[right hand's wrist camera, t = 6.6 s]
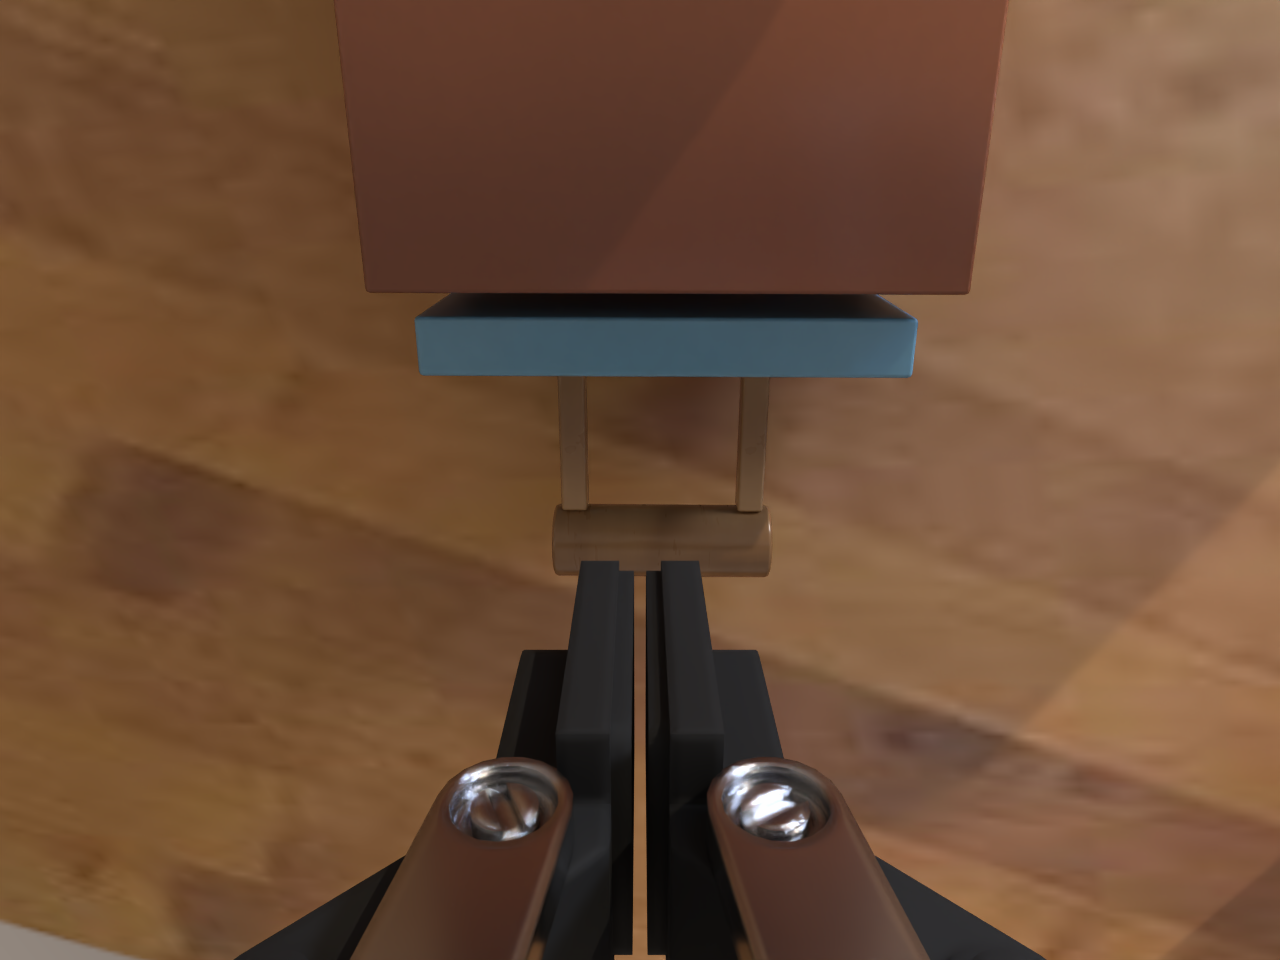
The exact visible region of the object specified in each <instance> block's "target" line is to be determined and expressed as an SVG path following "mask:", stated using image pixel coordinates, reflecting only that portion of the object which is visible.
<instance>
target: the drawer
mask: <svg viewBox="0 0 1280 960" xmlns="http://www.w3.org/2000/svg"><path fill="white" fill-rule="evenodd" d="M917 327H918V321H917V319H916V318H914V317H913V316H911V315H909V314H908V313H906V312H905V311H903V310H901V309H900V308H898V307H897V306H895V305H893V304H892V303H890V302H889V301H887V300H885V299H884V298H882V297H881V296H879V295H878V294H599V293H451V294H449V295H448V296H446V297H445V298H443V299H442V300H440V301H439V302H438V303H436V304H435V305H433V306H432V307H430V308H429V309H427V310H426V311H424V312H423V313H421V314H420V315H418V316H417V317H416V318H415V332H416V343H417V354H418V365H419V372H420V374H421V375H424V376H558V403H559V433H560V463H561V492H562V504H558V505H557V506H556V508H555V511H554V517H553V530H552V557H553V567H554V571H555V573H556V574H557V575H576V576H579V571H580V564H581V561H619V571H634V576H646V571H661V561H699V564H700V571H701V577H766V576H768V574H769V571H770V568H771V560H772V523H771V516H770V511H769V509H768V507H767V506H765V505H763V493H764V475H765V457H766V438H767V420H768V402H769V384H770V377H826V378H908V377H911V375H912V371H913V362H914V353H915V344H916V336H917ZM586 376H618V377H741V379H740V403H739V426H738V449H737V473H736V496H735V502H736V505H656V504H588V502H589V481H588V435H587V389H586Z"/></svg>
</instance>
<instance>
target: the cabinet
mask: <svg viewBox="0 0 1280 960" xmlns="http://www.w3.org/2000/svg"><path fill="white" fill-rule="evenodd" d="M1008 3H1009V0H334V6H335V16H336V25H337V34H338V43H339V52H340V61H341V70H342V79H343V88H344V97H345V107H346V116H347V125H348V134H349V143H350V152H351V161H352V170H353V179H354V188H355V197H356V207H357V216H358V225H359V234H360V243H361V252H362V261H363V270H364V279H365V288H366V290H367V292H370V293H599V294H898V295H965V294H968V293H969V291H970V286H971V279H972V271H973V264H974V256H975V249H976V241H977V234H978V227H979V219H980V212H981V204H982V197H983V189H984V182H985V174H986V167H987V159H988V152H989V145H990V137H991V130H992V122H993V115H994V107H995V100H996V92H997V85H998V77H999V70H1000V62H1001V55H1002V48H1003V40H1004V33H1005V25H1006V18H1007V10H1008Z"/></svg>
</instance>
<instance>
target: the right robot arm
mask: <svg viewBox="0 0 1280 960" xmlns="http://www.w3.org/2000/svg"><path fill="white" fill-rule="evenodd" d="M633 841H634V571H619V561H581V564H580V571H579V578H578V585H577V592H576V598H575V605H574V612H573V619H572V626H571V632H570V639H569V646H568V650H524V651H522V654H521V657H520V662H519V666H518V670H517V674H516V678H515V682H514V687H513V691H512V695H511V699H510V703H509V707H508V712H507V716H506V720H505V724H504V728H503V732H502V737H501V741H500V745H499V749H498V753H497V757H496V759H492V760H487V761H483V762H480V763H478V764H476V765H473V766H471V767H469V768H466V769H464V770H463V771H461V772H460V773H459V774H457V775H456V776H455V777H453V778H452V779H450V780H449V781H448V782H447V784H446V785H445V786H444V788H443V789H442V790H441V791H440V793H439V794H438V796H437V798H436V800H435V801H434V803H433V805H432V807H431V809H430V811H429V813H428V814H427V816H426V818H425V820H424V822H423V824H422V826H421V828H420V829H419V831H418V833H417V835H416V837H415V839H414V841H413V842H412V844H411V846H410V848H409V850H408V852H407V854H406V855H405V856H404V857H402V858H400V859H399V860H397V861H395V862H394V863H392V864H390V865H389V866H387V867H385V868H384V869H382V870H380V871H379V872H377V873H375V874H374V875H372V876H370V877H369V878H367V879H365V880H364V881H362V882H360V883H359V884H357V885H356V886H354V887H352V888H351V889H349V890H347V891H346V892H344V893H342V894H341V895H339V896H337V897H336V898H334V899H332V900H331V901H329V902H327V903H326V904H324V905H322V906H321V907H319V908H317V909H316V910H314V911H312V912H311V913H309V914H307V915H306V916H304V917H302V918H301V919H299V920H297V921H296V922H294V923H292V924H291V925H289V926H288V927H286V928H284V929H283V930H281V931H279V932H278V933H276V934H274V935H273V936H271V937H269V938H268V939H266V940H264V941H263V942H261V943H259V944H258V945H256V946H254V947H253V948H251V949H249V950H248V951H246V952H244V953H243V954H241V955H239V956H238V957H237V958H235V959H234V960H614V955H632V946H633ZM646 841H647V946H648V955H666V960H1046V959H1045V958H1043V957H1042V956H1041V955H1039V954H1037V953H1036V952H1034V951H1032V950H1031V949H1029V948H1027V947H1026V946H1024V945H1022V944H1021V943H1019V942H1017V941H1016V940H1014V939H1012V938H1011V937H1009V936H1007V935H1006V934H1004V933H1002V932H1001V931H999V930H997V929H996V928H994V927H992V926H991V925H989V924H988V923H986V922H984V921H983V920H981V919H979V918H978V917H976V916H974V915H973V914H971V913H969V912H968V911H966V910H964V909H963V908H961V907H959V906H958V905H956V904H954V903H953V902H951V901H949V900H948V899H946V898H944V897H943V896H941V895H939V894H938V893H936V892H934V891H933V890H931V889H929V888H928V887H926V886H924V885H923V884H921V883H920V882H918V881H916V880H915V879H913V878H911V877H910V876H908V875H906V874H905V873H903V872H901V871H900V870H898V869H896V868H895V867H893V866H891V865H890V864H888V863H886V862H885V861H883V860H881V859H880V858H878V857H876V856H875V855H874V854H873V852H872V850H871V848H870V846H869V844H868V842H867V841H866V839H865V837H864V835H863V833H862V831H861V829H860V828H859V826H858V824H857V822H856V820H855V818H854V816H853V814H852V813H851V811H850V809H849V807H848V805H847V803H846V801H845V800H844V798H843V796H842V794H841V793H840V791H839V790H838V789H837V788H836V786H835V785H834V784H833V782H832V781H831V780H830V779H828V778H827V777H825V776H824V775H823V774H821V773H820V772H819V771H817V770H816V769H814V768H811V767H809V766H807V765H804V764H802V763H800V762H797V761H793V760H788V759H784V757H783V753H782V749H781V745H780V741H779V737H778V732H777V728H776V724H775V720H774V716H773V712H772V707H771V703H770V699H769V695H768V691H767V687H766V682H765V678H764V674H763V670H762V666H761V662H760V657H759V654H758V651H756V650H712V646H711V639H710V632H709V626H708V619H707V612H706V605H705V598H704V592H703V585H702V578H701V571H700V564H699V561H661V571H646Z"/></svg>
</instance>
